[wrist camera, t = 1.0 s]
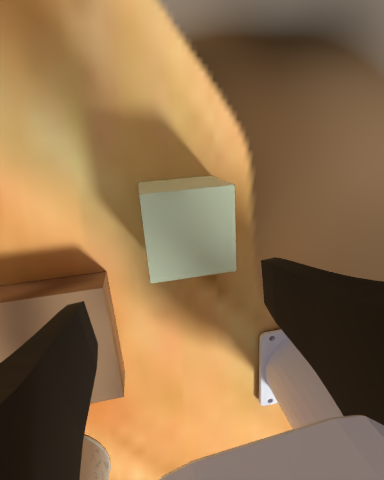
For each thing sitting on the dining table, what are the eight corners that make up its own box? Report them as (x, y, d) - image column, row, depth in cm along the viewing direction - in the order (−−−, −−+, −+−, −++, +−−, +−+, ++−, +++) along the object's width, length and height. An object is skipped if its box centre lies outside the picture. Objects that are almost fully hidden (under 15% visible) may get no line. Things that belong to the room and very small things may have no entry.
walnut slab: (106, 271, 20) (102, 287, 18) (124, 371, 23) (123, 396, 21) (-33, 290, 19) (-57, 311, 17) (5, 394, 22) (-10, 424, 20)
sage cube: (211, 175, 20) (234, 184, 15) (214, 243, 21) (236, 270, 17) (137, 182, 19) (139, 194, 14) (147, 252, 21) (150, 283, 16)
